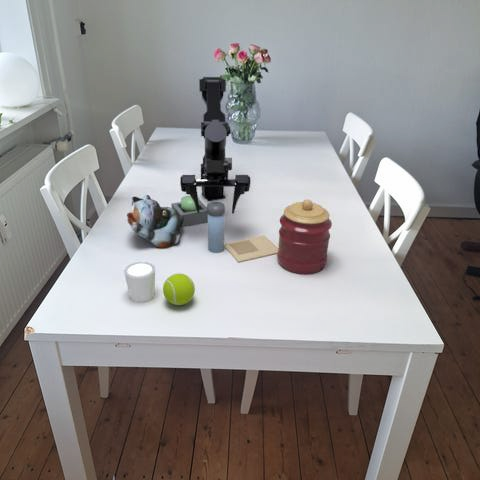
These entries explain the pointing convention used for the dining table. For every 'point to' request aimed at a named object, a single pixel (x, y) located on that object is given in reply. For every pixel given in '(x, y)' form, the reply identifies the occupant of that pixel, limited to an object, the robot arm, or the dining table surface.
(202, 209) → the button box
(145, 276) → the white cylinder
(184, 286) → the tennis ball
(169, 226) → the lucky cat figurine
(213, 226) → the water bottle
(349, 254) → the dining table surface
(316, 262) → the canister
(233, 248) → the kraft sheet
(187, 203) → the button
